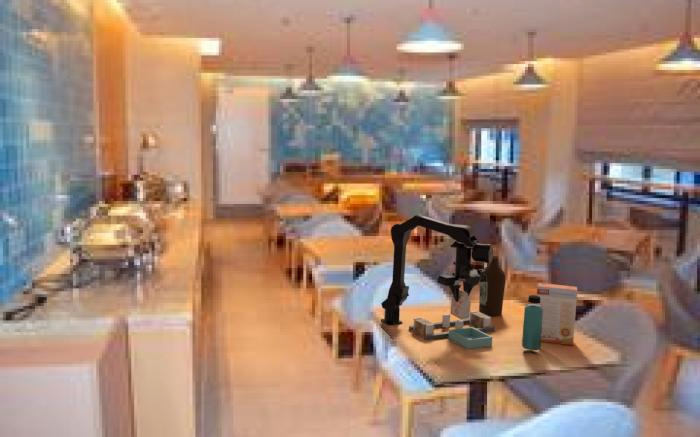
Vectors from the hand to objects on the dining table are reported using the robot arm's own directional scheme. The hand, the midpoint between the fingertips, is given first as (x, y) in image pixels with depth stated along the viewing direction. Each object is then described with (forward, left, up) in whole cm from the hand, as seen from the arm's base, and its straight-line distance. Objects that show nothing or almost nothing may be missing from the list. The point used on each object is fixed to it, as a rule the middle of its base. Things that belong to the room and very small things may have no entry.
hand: (461, 301), depth 236 cm
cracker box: (+18, +29, -13) cm, 37 cm away
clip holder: (-5, 0, -13) cm, 14 cm away
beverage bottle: (+24, +13, -13) cm, 30 cm away
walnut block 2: (-5, +13, -13) cm, 19 cm away
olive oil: (-19, +29, -13) cm, 38 cm away
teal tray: (+9, -2, -13) cm, 16 cm away
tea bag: (0, 0, -6) cm, 6 cm away
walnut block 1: (-5, -13, -13) cm, 19 cm away
